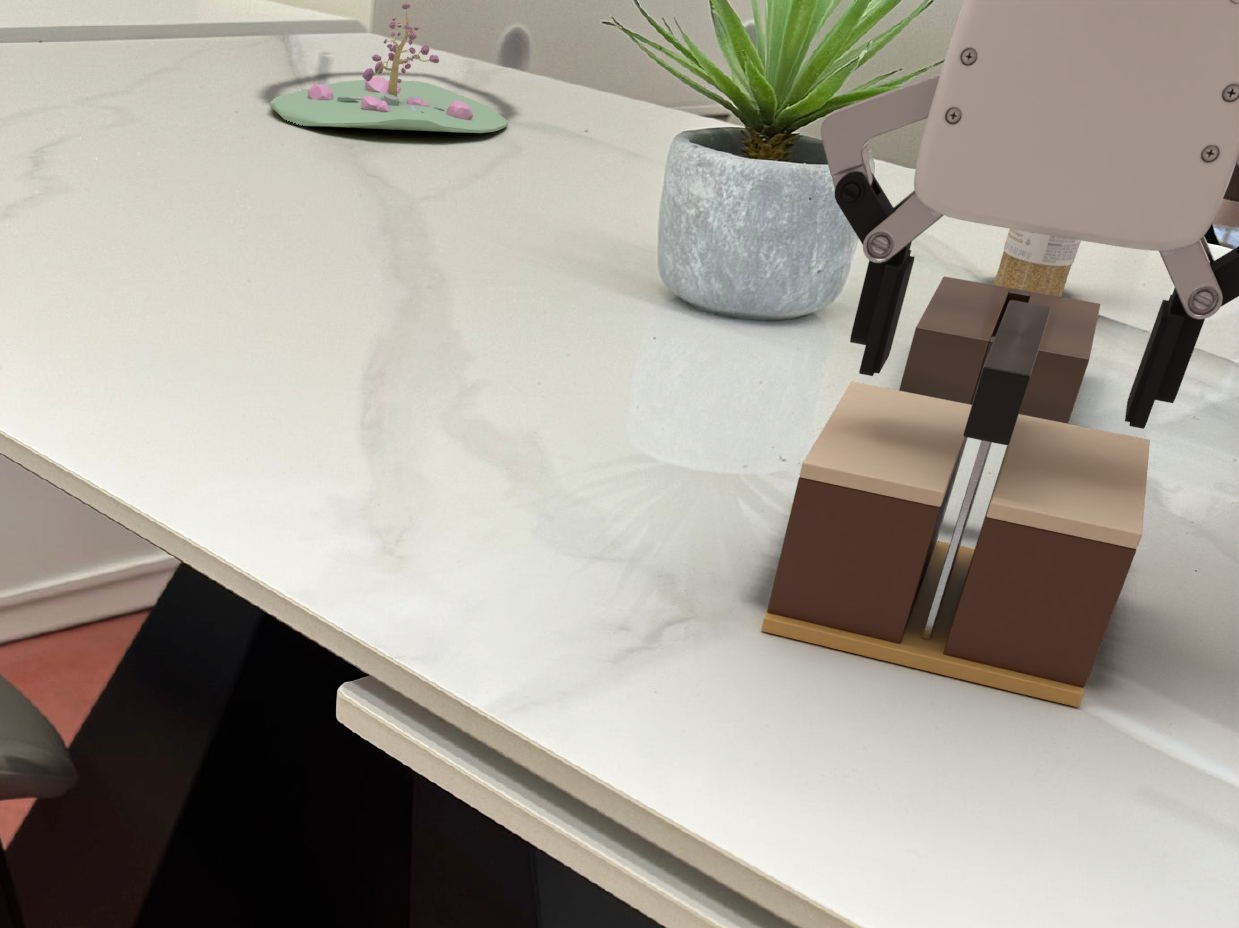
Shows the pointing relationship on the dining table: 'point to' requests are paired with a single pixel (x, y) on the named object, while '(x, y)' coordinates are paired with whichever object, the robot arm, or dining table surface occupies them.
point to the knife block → (965, 333)
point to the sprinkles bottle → (1036, 262)
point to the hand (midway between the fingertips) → (1001, 391)
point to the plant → (388, 100)
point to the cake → (982, 577)
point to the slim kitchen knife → (995, 411)
